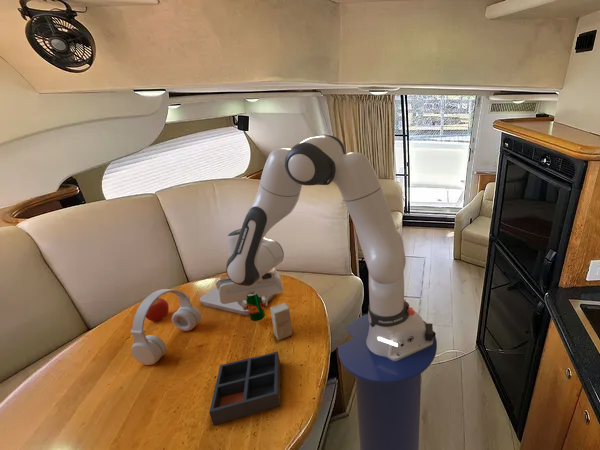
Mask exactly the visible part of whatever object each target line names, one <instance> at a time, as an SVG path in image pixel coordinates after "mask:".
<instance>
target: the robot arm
mask: <svg viewBox="0 0 600 450" xmlns="http://www.w3.org/2000/svg"><path fill="white" fill-rule="evenodd" d="M331 183H333V184H335V185H336V187H337V188H338V190H339V192H340V195H341V198H342V200H343V201H344V204H345V207H346V210H347V211H348V214H349V216H350V218H351V220H352V222H353V226H354V229H355V232H356V234H357V239H358V242H359V247H360V249H361V252H362V256H363V258H364V261H365V264H366V268H367V271H368V297H369V298H368V299H369V303H368V311H367V314H368V318H369V323H370V326H369V333H368V337H367V340H366V344H367V347H368V348H369V350H370V351H371V352H373V353H374V354H376V355H379V356H384V357H387V358H389V359H391V360H393V361H398V360H400V359H402V358H405V357H407V356H409V355H411V354H413V353H415V352H418V351H420V350H422V349H424V348H426V347H429V346H431V345H432V344H433V337H435V336H436V334H437V333H436V332H435V331H434V327H433V325H434V324H433V323H429V322H428V323H427V322H426V323H424V321H425V320H424V319H423V318H422V316H421V315H420V314H419V313H418V312H417V311H415V310H414V307H410V304H409V302H407V301H406V299H405V275H404V274H405V273H404V272H405V268H406V264H407V263H406V262H407V259H406V252H405V247H404V240H403V236H402V234H401V233H400V232H399V230H398V229H397V228H396V225H395V222H394V217H393V214H392V211H391V209H390V206H389V203H388V200H387V198H386V195H385V192H384V190H383V187H382V184H381V182H380V179H379V177H378V175H377V173H376V171H375V168H374V167H373V165H372V163H371V162H370V160H369V158H368V157H367V156H366V155H365V154H364V153H362V152H356V151H353V152H347V151H346V147H345V145H344V142H343V141H342V140H341V139H340V138H339V137H338V136H335V135H333V134H328V133H327V134H324V133H323V134H320V135H317V136H312V137H309V138H308V137H307V138H306V139H304V140H302V141H301V142H299V143H296V144H295V145H294V146H292V147H291V148H286V147H285V148H284V147H283V148H282V147H281V148H275V149H273V150H272V151H271V152H270V153H269V154H268V157H267V159H266V162H265V164H264V167H263V170H262V172H261V176H260V181H259V185H258V189H257V192H256V195H255V198H254V200H253V202H252V204H251V206H250V208H249V210H248V212H247V213H246V214H245V218H244V220H243V222H242V225H241V228H239V229H235V230H233V231H232V232H230V233H228V234H227V236H226V248H227V253H228V257H229V258H227V261H226V267H225V270H226V275H227V277H220V278H218V279H217V280H216V281H215V288H216V287H217V289H218V290H219V298H220V302H221V303H223V304H227V303H232V302H238V304H239V305H240V306H242V307H243V310H248V307H247V303H246V304H245V303H244V302H243V300H247V295H248V293H252V292H255V293H257V295H258V297H265V300H263V302H262V304H263V307H264V308H265V307H267V306H268V305H269V304H268V302H269V301H268V299H269V295H274V296H275V295H280V294H282V293H283V291H284V283H283V280H282V277H281V275H280V273H279V272H278V271H277V266H279V265H280V264H281V263H282V262H283V260H284V257H285V252H284V250H283V247H282V245H281V244H280V243H279V242H278V241H277V240H275V239H273V238H272V239H271V238H266V237H265V236H266V235H267V233H268V232H269V231H271V229H272V228H273V227H274V226H275V225H277V224H278V223H279V222H280V221H282V220H283V219H284V218H287V216H289V215H290V214H291V213H292V212H293V211H294V209H295V207H296V206H297V204H298V201H299V198H300V195H301V191H302V187H303V186H329V185H330V184H331ZM267 301H268V302H267Z"/></svg>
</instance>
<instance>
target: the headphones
mask: <svg viewBox="0 0 600 450" xmlns="http://www.w3.org/2000/svg"><path fill="white" fill-rule="evenodd" d="M168 293H172V294H174V295H176V296H177V299H178V300H179V308H178V309H177V311H175V312H174V313H173V314H172V316H171V323H172V324H173V326H174V327H175V328H177V329H178V330H180V331H183V332H188V331H191V330H193V329H194V328H195V327H197V326H199V324H200V323H201V322H202V319H203V318H202V314H201V312H200V311H199V309H197V307H195V306H194V305H193V304H192V302H191V300H190V298H191V296H190V295H187V294H186V293H185V292H184V291H182V290H180V289H170V288H162V289H158V290H156V291H153V292H152V293H150V294H149V295H147V296H146V297H145V298H144V299H143V300H142V302H141V303H140V305H138V308H137V309H136V312H135V314H134V317H133V322H132V327H131V330H130V334H131V335H132V337H133V344H132V345H131V347H130V354H131V356H132V357H133V359H134V360H135V361H136V362H138V363H140V364H142V365H146V366H152V365H154V364H156V363H157V362H158V361H160V359H161V358H162V357H163V356H164V355H165V354H166V352H167V349H168V347H167V344H166V343H165V342H164V340H163V339H162V338H161V337H159V336H157V335H153V334H149V335H146V334H145V333H146V331H145V330H144V326H145V325H144V324H145V320H146V314H147V312H148V310H149V308H150V307H151V305H152V304H153V302H154V301H155V300H156V299H157V298H161V296H163V295H165V294H168Z"/></svg>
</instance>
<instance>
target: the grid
mask: <svg viewBox="0 0 600 450" xmlns="http://www.w3.org/2000/svg"><path fill="white" fill-rule="evenodd" d="M280 360H281V359H280V356H279V351H275V352H270V353H266V354H261V355H257V356H252V357H248V358H245V359H239V360H235V361H231V362H227V363H223V364H220V365H219V368H218V373H217V377H216V381H215V386H214V390H213V394H212V399H211V403H210V408H209V412H208V413H209V417H210V419H211V422H212V425H213V426H215V425H219V424H223V423H226V422H229V421H233V420H236V419H240V418H244V417H247V416H251V415H254V414H257V413H261V412H265V411H267V410H271V409H275V408H277V407H278V408H279V407H280V406H281V361H280Z"/></svg>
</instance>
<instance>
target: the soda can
mask: <svg viewBox="0 0 600 450" xmlns="http://www.w3.org/2000/svg"><path fill="white" fill-rule="evenodd" d="M262 302H263V301H262V297H258V295H257V293H255V292H252V293H248V295H247V300H246V303H247V307H248V311H249V315H248V316H249V318H250V321H252V322H260V321H262V320H263V319H264V318H265V316H266V311H265V306H264V307H263V304H262Z"/></svg>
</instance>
